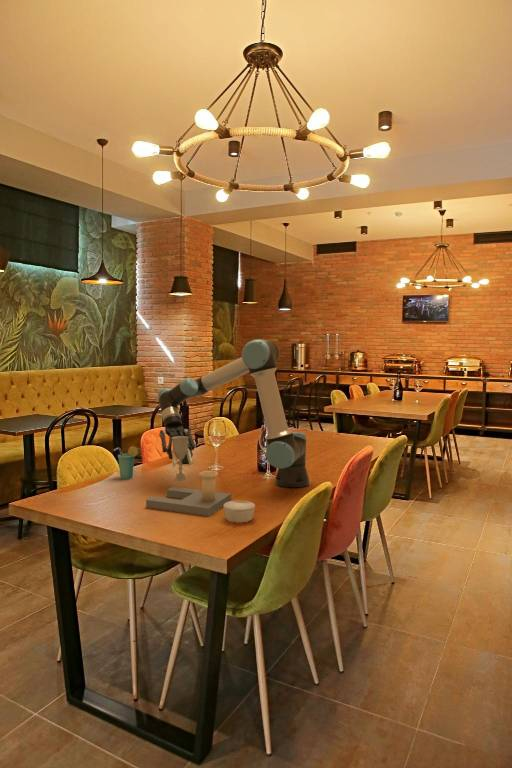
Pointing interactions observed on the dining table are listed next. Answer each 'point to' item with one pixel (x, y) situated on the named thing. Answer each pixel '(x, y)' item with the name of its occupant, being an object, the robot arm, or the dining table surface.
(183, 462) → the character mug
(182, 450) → the chalice
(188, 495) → the notched board
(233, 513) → the ramekin
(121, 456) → the cup
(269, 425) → the robot arm
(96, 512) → the dining table surface
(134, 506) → the dining table surface
